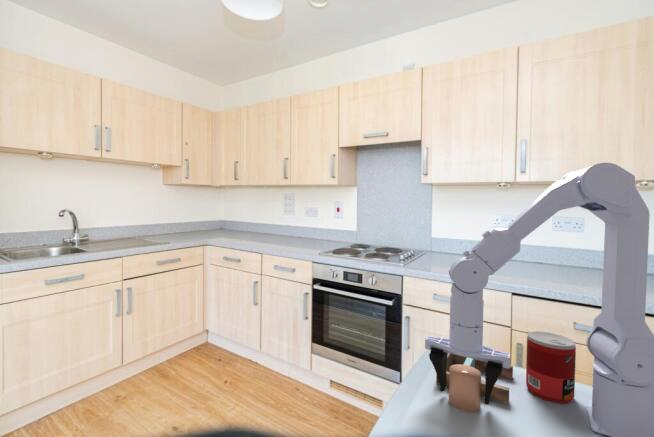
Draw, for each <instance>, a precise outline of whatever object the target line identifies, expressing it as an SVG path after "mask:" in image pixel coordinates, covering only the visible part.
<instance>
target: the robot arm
mask: <svg viewBox="0 0 654 437" xmlns="http://www.w3.org/2000/svg"><path fill="white" fill-rule="evenodd" d="M635 183H636V176H635V175H634V174H632V173H631V172H629V171H628V170H626V169H624V168H623V167H622V166H619V165H618V164H615V163H612V162H600V163H599V162H598V163H596V164H593V165H591V166H588V167H585V168H581V169H577V170H576V169H575V170H573V171H570V172H568V173H566V174H564V175H563V177H562V178H561V179H560V180H557V181H555V182H553V183H552V184H551V185H550V186H549V187H548V188H547V189H545V190H544V191H543V192H542V193H541V194H540V195H539V196H538V197H537V198H536V199H535V200H534V201H533V202H532V203H530V205H529V206H527V208H525V209H524V210H523V211H522V212H521V213H520V214H519V215H518V216H517V217H516V218H515V219H514V220H513V221H511V223H510V224H508V225H507V226H506V227H505V228H501V227H500V228H499V227H498V228H493V229H492V230H491V231H490V230H485V232H483V233H481V236H482V237H483V238H481V239H480V240H479V241H478V242H477V243H476V244H475V245H474V246H472V248H471V249H470V250H468V249H466V250H464V251H463V252H462V254H463V256H465V257H463V256H462V257H459V258H457V259H455V261H453V262H452V264H451V266H450V269H449V270H448V274H449V275H448V276H449V278H450V280H451V281H452V283H451V287H450V293H451V295H450V298H449V302H450V303H449V336H448V337H449V338H443V337H434V336H427V337H426V338H425V340H424V350H429V351H430V352H429V354H428V357H429V360H430V362H431V364H432V365H433V368H434V371H435V373H436V374H437V377H438V381H439V384H438V385H439V391H441V392H445V390H446V388H447V386H446V383H447V376H446V365H447V354H448V353H451V354H455V355H459V356H463V357H468V358H472V359H476V360H480V361H485V362H487V365H486V368H485V372H484V375H485V376H484V377H485V379H484V381H485V382H486V387H485V396H484V397H483V398H484V399H483V400H484V402H483V403H484V405H486V406H489V405H490V401H491V399H490V395H491V392H492V389H493V387H494V385H495V384H496V383H497V381H498V380H499V378H500V377H501V376H500V375H501V373H502V368H503V367H504V368H508V369H509V368H510V365H511V354H510V353H507V352H502V351H500V350H497V349H493V348H491V347H488V346H485V345H484V344H483V343H484V342H483V339H484V306H485V305H484V296H483V295H484V289H485V288H486V287H487V286H488V285H487V284H488V282H489V276H492V275H495V273H497V271H499V270H500V269H501V268H502V267H504V266H505V265H506V264H507V263H509V262H510V260H512V259H513V258H514V257H515V256H516V255H518V254H519V253H520V252H521V242H522V240H523V239H525V238H527V237H528V236H529V235H530V234H532V232H534V231H535V230H536V229H538V228H539V227H541V225H543V224H544V223H545V222H546V221H548V220H549V219H550V218H551V217H553V216H554V215H555V214H557V213H558V212H560V211H563V210H568V209H571V208H572V209H573V208H575V207H580V208H582V209H585V210H587V211H589V212H590V213H591V214H593V215H594V216H595V217H598V219H600V220H601V221H602V222H604V241H603V244H604V245H603V268H602V269H603V270H602V288H601V290H602V291H601V312H600V313H599V314H598V315H597V316H596V317H595V318H593V325H592V329H591V331H590V332H589V333H588V335H587V337H586V346H587V350H588V351H589V353H590V354H591V355H592V356H593V361H594V362H593V365H592V396H591V398H592V399H591V400H592V401H591V406H590V405H587V406H585V407H586V408H585V409H586V412H587V416H588V420H589V424H590V427H591V431H593V432H595V433H597V434H602V435H604V436H608V437H654V333H653V331H651V328H650V327H649V326H648V324H647V323H646V305H647V303H646V301H647V300H646V299H647V280H648V279H647V278H648V261H649V260H648V258H649V256H648V255H649V236H650V234H649V233H650V218H651V217H650V210H649V208H648V206H647V204H646V203H645V201H644V199H643V196H642V195H641V194H640V192H639V190H638V189H637V187H636V186H635V185H636V184H635Z"/></svg>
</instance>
